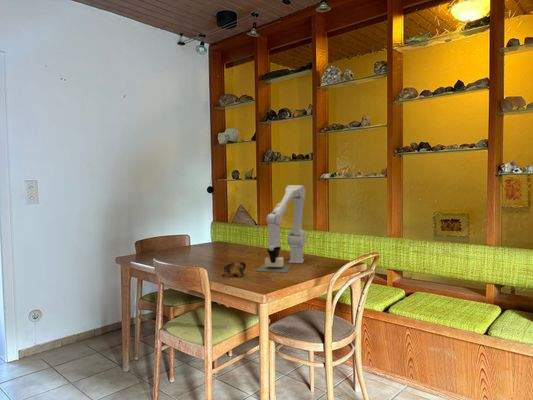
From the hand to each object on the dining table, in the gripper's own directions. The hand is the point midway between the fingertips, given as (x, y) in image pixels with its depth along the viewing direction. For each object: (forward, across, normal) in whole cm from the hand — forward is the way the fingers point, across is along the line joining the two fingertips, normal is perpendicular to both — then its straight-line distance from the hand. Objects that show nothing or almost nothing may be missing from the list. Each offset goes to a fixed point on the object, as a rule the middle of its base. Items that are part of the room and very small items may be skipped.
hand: (274, 261), depth 214 cm
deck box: (+2, 0, 0) cm, 2 cm away
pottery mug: (+4, +18, -16) cm, 24 cm away
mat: (+4, 0, 0) cm, 4 cm away
